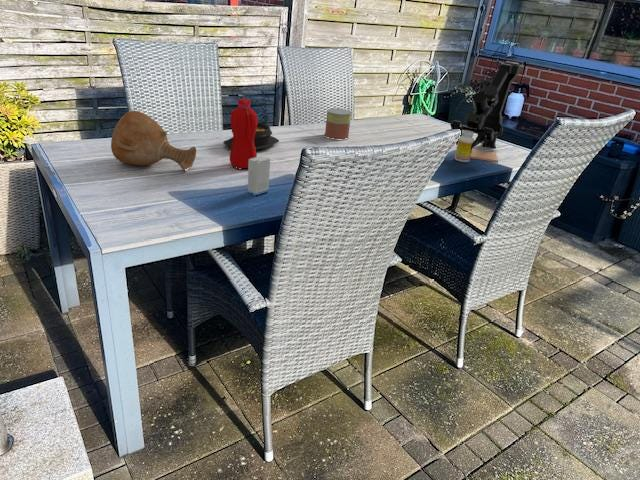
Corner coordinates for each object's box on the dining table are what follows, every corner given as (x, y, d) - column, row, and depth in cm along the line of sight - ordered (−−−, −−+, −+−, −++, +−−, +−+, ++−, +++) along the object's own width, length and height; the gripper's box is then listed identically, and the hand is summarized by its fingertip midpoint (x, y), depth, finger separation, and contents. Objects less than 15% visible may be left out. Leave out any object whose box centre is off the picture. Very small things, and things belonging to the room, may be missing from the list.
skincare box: (260, 188, 171) (261, 154, 166) (269, 192, 169) (270, 158, 163) (246, 193, 167) (247, 158, 161) (256, 197, 164) (257, 162, 159)
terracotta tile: (469, 150, 235) (469, 148, 234) (495, 154, 233) (495, 152, 232) (470, 158, 224) (470, 156, 224) (497, 162, 222) (498, 160, 222)
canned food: (352, 137, 238) (355, 111, 232) (340, 141, 229) (343, 115, 224) (332, 132, 243) (335, 107, 237) (320, 136, 234) (322, 110, 229)
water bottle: (237, 172, 183) (237, 103, 171) (227, 162, 191) (227, 96, 180) (260, 170, 187) (263, 103, 175) (250, 161, 195) (251, 96, 184)
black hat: (241, 156, 199) (241, 136, 195) (214, 144, 210) (214, 124, 206) (288, 147, 215) (289, 128, 211) (260, 136, 226) (261, 117, 222)
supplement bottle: (469, 163, 217) (476, 134, 211) (454, 161, 218) (460, 132, 212) (469, 159, 223) (475, 130, 217) (454, 156, 224) (460, 128, 218)
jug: (132, 119, 190) (207, 138, 188) (116, 165, 187) (192, 185, 186) (110, 96, 170) (193, 117, 169) (91, 147, 168) (176, 170, 166)
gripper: (456, 101, 217) (441, 130, 214) (498, 110, 208) (483, 141, 205) (459, 116, 226) (444, 144, 223) (500, 126, 217) (485, 155, 214)
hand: (463, 146), depth 216 cm, fingers closed on supplement bottle, 7 cm apart
